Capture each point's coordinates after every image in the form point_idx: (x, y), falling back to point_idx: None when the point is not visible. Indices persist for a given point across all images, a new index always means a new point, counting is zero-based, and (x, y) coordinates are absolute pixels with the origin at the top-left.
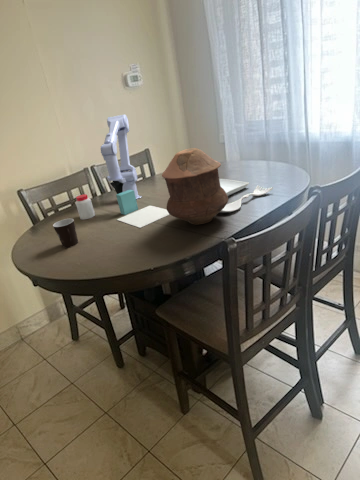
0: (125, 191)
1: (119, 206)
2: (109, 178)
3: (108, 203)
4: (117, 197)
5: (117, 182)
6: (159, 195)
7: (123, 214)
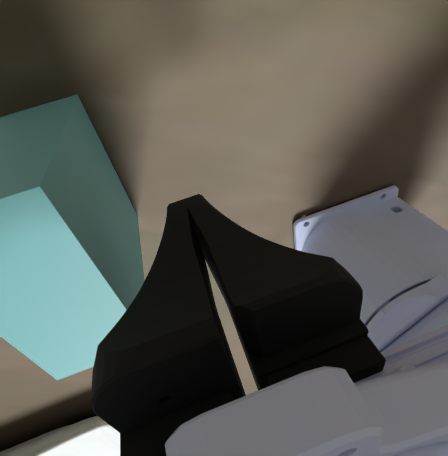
0: (109, 311)
1: (55, 120)
2: (445, 433)
3: (437, 85)
4: (18, 174)
5: (137, 426)
6: (232, 342)
7: (29, 109)
